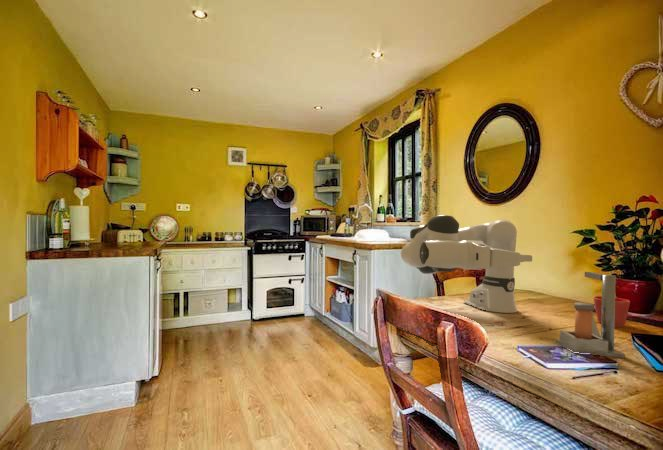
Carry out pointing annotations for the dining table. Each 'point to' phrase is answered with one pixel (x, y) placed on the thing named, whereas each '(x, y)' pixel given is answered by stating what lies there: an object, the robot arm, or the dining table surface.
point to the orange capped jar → (583, 320)
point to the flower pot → (620, 310)
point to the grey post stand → (606, 342)
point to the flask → (594, 327)
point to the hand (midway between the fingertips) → (524, 256)
